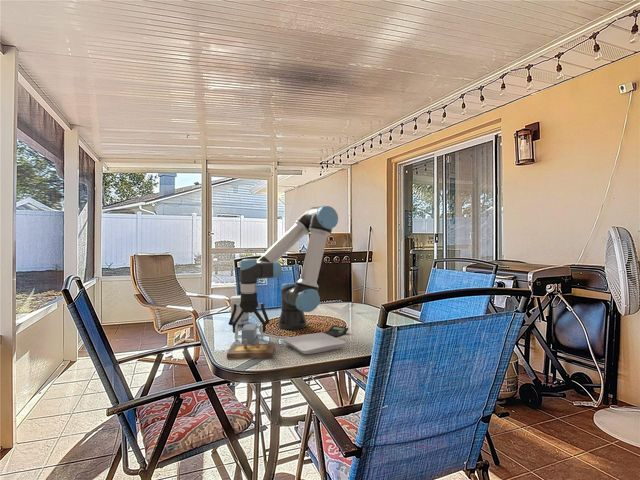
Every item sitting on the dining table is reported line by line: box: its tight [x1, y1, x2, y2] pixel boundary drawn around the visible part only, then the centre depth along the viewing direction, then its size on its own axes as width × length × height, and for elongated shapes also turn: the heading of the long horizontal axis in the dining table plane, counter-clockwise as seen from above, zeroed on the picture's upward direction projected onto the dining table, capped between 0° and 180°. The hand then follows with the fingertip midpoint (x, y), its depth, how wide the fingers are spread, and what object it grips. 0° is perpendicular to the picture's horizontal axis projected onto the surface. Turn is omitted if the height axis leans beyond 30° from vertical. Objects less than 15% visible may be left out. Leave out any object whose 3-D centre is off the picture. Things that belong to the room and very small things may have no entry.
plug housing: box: [241, 323, 258, 344], centre depth 175 cm, size 12×6×6 cm, turn 4°
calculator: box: [322, 324, 349, 339], centre depth 184 cm, size 9×12×3 cm
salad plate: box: [282, 332, 347, 355], centre depth 164 cm, size 21×21×3 cm
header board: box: [226, 338, 275, 359], centre depth 156 cm, size 18×12×6 cm, turn 94°
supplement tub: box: [230, 294, 250, 326], centre depth 208 cm, size 10×10×15 cm
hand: (249, 339), depth 175 cm, fingers open, 11 cm apart
